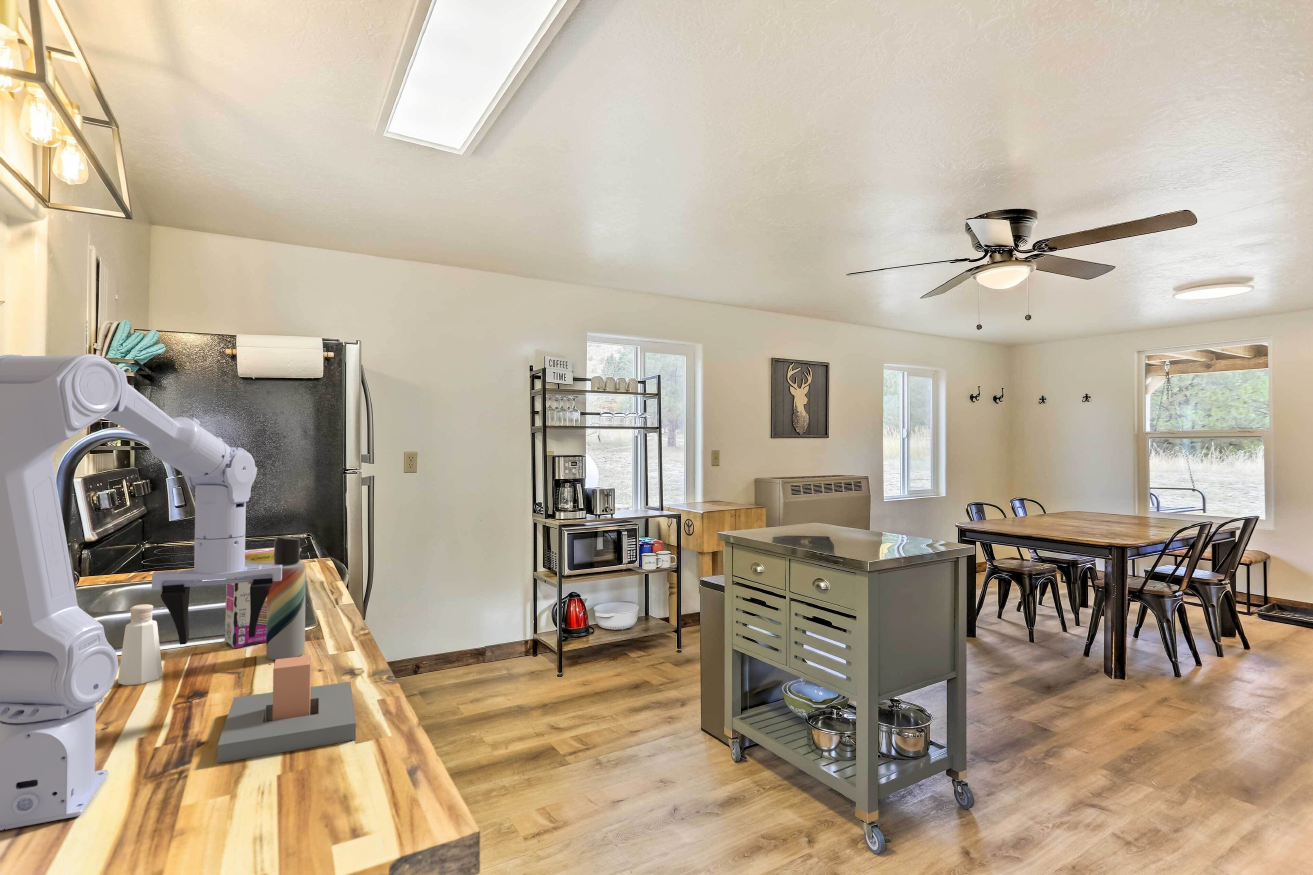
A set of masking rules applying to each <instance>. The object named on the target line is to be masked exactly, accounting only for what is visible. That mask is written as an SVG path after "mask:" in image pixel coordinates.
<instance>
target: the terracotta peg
mask: <svg viewBox="0 0 1313 875" xmlns="http://www.w3.org/2000/svg"><path fill="white" fill-rule="evenodd" d="M311 667H312V655H301V656H299V657H293V658H284V659H276V660H274V665H273V669H272V672H273V676H272V692H273V720H272V721H275V720H282V719H289V718H295V717H302V716H308V715H311V714H310V691H311V687H312V685H311V681H312V678H311V677H312V674H311V673H312V671H311V670H312V668H311Z"/></svg>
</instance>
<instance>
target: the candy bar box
mask: <svg viewBox="0 0 1313 875" xmlns="http://www.w3.org/2000/svg"><path fill="white" fill-rule="evenodd" d="M298 563H302V548H300V556H299V562H298ZM260 565H274V547H267V548H256V549H245V566H260ZM228 579H236V578H228ZM251 584H252V582H245V583H231V584H225V612H224V613H225V614H224V616H225V617H224V644H225V645H227V646H229V647H230V648H232V649H238V648H243V647H248V646H254V645H258V644H263V643H265V644H266V628H267V597H266V599H265V602H264V604H263V606H262V609H261V612H260V615H259V618H258V623H257V628H256V635H255V637H250V638H249V623H250V586H251Z"/></svg>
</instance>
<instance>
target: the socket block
mask: <svg viewBox="0 0 1313 875" xmlns="http://www.w3.org/2000/svg"><path fill="white" fill-rule="evenodd" d="M352 692H353V689H352V683H351V681H347V682H346V681H344V682H338V683H331V684H323V685H315V686H311V691H310V715H308V716H302V717H295V718H289V719H282V720H275V721H273V691H272V692H264V693H263V692H262V693H259V694H258V693H255V694H250V695H242V696H241V695H240V696H234V697H233V698H232V703H231V705H230V709H229V710H228V714H227V717H226V720H225V722H224V726H223V728H222V732H221V734H220V737H219V740H218V743H217V764H221V763H228V762H233V761H240V760H245V759H250V758H251V759H252V758H257V757H262V756H269V755H273V754H275V755H276V754H279V753H286V752H291V751H292V752H293V751H298V750H303V749H310V748H315V747H321V746H328V745H332V744H338V743H339V744H340V743H344V741H346V742H351V741H350V740H352V741H356V740H355V739H357V737H356V734H357V733H356V732H357V730H356V728H357V722H356V716H355V715H356V714H355V706H354V700H353V699H354V698H353V693H352Z"/></svg>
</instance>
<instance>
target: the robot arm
mask: <svg viewBox="0 0 1313 875" xmlns="http://www.w3.org/2000/svg"><path fill="white" fill-rule="evenodd" d="M102 418H104V419H106V420H107V421H110V422H111V423H113V424H115V425H117V426H119V427H121V428H123V429H125V430H127V431H129V432H130V433H133V434H134V435H137V436H139V437H140V438H143V439H145V440H146V441H148V447H149V451H150V452H151V454H152V455H153V456H154V457H155V458H157V459H159V460H161V461H162V462H164V463H165V464H167V465H169V466H171V467H172V468H174V469H176V470H178V471H179V472H181V473H182V475H183V478H184V480H185V482H186V484H187V486H188V487H189V488H191V489H195V492H194V493H195V494H194V496H195V497H194V499H195V500H194V501H195V502H194V503H195V504H194V505H195V506H194V508H195V509H194V510H195V512H194V553H193V554H194V556H193V557H194V559H193V560H194V561H193V562H194V563H193V564H194V565H193V566H194V568H193V569H183V570H181V569H180V570H173V571H163V572H160V571H159V572H154V573H153V574H151V590H152V591H159V590H161V594H160V598H161V599H160V600H161V601H162V602H163V604H164V605H165V607H166V609H167V611H168V612H169V614H170V616H171V618H172V620H173V623H174V624H175V628H176V631H177V636H178V640H179V645H187V643H189V639H190V624H189V623H190V621H189V605H190V589H191V587H199V586H200V587H201V586H202V587H204V586H215V585H217V586H218V585H226V584H231V583H245V582H252V584H251V586H250V623H249V638H250V637H255V635H256V628H257V623H258V618H259V615H260V612H261V609H262V606H263V604H264V602H265V599H266V597H267V595H268V593H269V591H270V589H271V587H272V584H273V581H281V580H282V565H260V566H245V550H246V521H247V520H246V519H247V518H246V516H247V515H246V512H247V510H246V509H247V502H249V501H250V498H251V492H252V491H251V489H252V486H253V484H254V482H255V480H256V479H257V478H256V477H257V473H258V467H257V466H256V462H255V459H254V457H253V456H252V454H251V453H250V452H248V451H247V450H246V449H244V448H242V447H239V446H238V447H235V446H234V447H233V446H232V447H231V446H229V445H228V444H227V443H225V442H224V439H222V438H221V437H219V436H218V435H217V436H215V435H213V434H212V433H211V432H209V431H208V430H206V429H205V428H203V427H202V426H200V424H201V421H199V420H198V419H197V418H195V417H184V416H181V417H180V416H178V417H171V416H169V415H168V414H166V412H165V411H163V410H162V409H160V407H158V406H157V405H155V404H154V403H153V402H152V401H150V400H149V399H148V398H147V397H146V396H144V395H143V394H142V393H140V392H139V391H138V390H137V389H136V388H135V387H133V386H132V385H130V384H129V383H128V377H127V374H126V372H125V370H123V369H121V368H119V367H118V366H117V367H116V366H115V365H113V364H112V363H111V362H110V361H109V360H108V359H106V358H105V357H103V356H100V355H98V354H93V353H81V354H78V355H21V354H3V355H0V618H1V622H2V623H0V831H4V829H5V830H10V829H11V830H12V829H15V828H21V827H25V826H31V825H38V824H42V823H48V822H53V821H58V820H59V821H60V820H65V819H69V818H74V817H79V816H81V815H82V814H83V813H84V812H85V810H86V809H87V807H88V806H89V804H90V803H91V801H92V799H93V798H94V797H95V795H96V794H97V792H98V790H99V788H100V787H101V786H102V784H103V782H104V781H105V780H106V778H107V776H108V775H109V770H108V769H99V770H96V735H97V734H96V731H97V730H96V726H97V722H96V721H97V705H99V704H101V703H103V702H104V701H103V700H104V697H105V696H106V695H107V693H109V691H110V690H111V689H112V687H113V685H114V683H115V681H116V678H117V675H118V672H119V660H118V659H119V658H118V654H117V652H116V650H115V649H114V647H113V646H112V645H111V644H110V643H109V642H108V640H107V637H106V635H105V629H104V626H103V624H102V623H100V622H99V621H98V620H97V619H95V618H94V617H93V616H91V615H90V614H88V613H87V612H86V611H84V610H83V609H82V608H80V607H79V604H78V598H77V593H76V588H75V583H74V582H75V581H74V576H73V570H72V565H71V560H70V554H69V547H68V542H67V535H66V530H65V525H64V524H65V523H64V520H63V518H64V517H63V513H62V512H63V511H62V509H61V508H62V507H61V502H60V496H59V490H58V484H57V478H56V472H55V467H54V462H53V455H54V453H55V451H57V450H58V448H60V446H61V445H62V444H63V443H64V442H65V441H67V440H69V439H71V438H72V437H74V436H75V435H77V434H78V433H80V432H82V431H83V430H86V429H87V428H88V427H91V425H93V424H95V423H97V422H98V421H99V420H101V419H102ZM228 578H236V579H228Z"/></svg>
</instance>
